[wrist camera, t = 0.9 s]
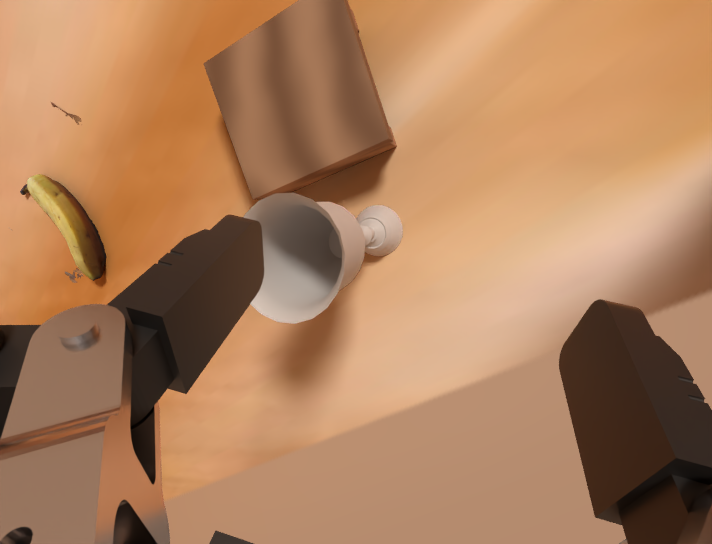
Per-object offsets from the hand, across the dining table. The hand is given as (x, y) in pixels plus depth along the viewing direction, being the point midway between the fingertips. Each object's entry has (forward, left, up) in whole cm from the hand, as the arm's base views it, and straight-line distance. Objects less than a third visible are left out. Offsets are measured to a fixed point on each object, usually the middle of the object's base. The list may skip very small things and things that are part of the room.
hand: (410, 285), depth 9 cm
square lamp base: (+10, -15, -26) cm, 32 cm away
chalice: (+8, -2, -27) cm, 28 cm away
